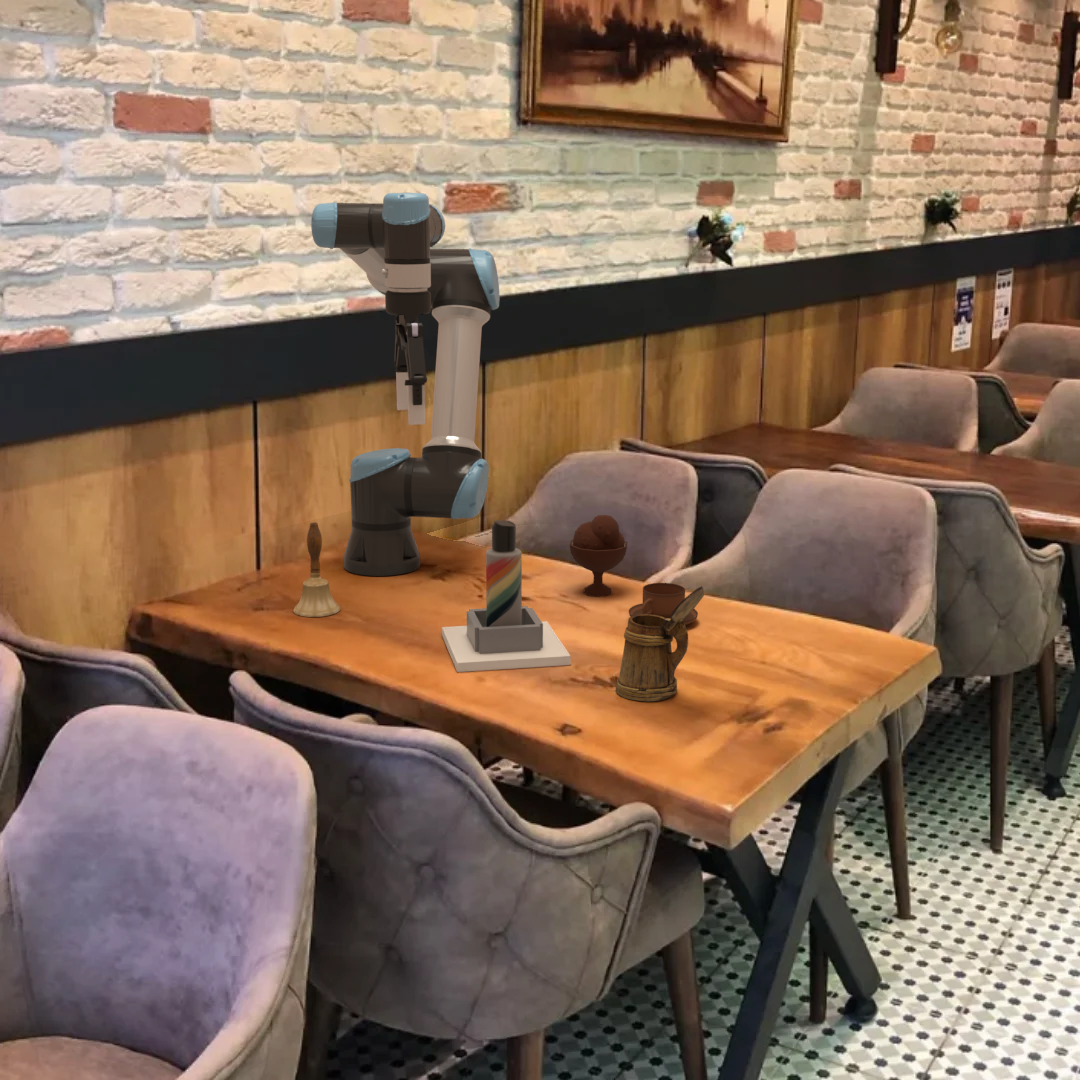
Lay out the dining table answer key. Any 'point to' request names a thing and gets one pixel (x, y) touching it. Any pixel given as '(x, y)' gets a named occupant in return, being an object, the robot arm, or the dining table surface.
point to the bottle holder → (504, 644)
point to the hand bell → (315, 583)
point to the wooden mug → (654, 653)
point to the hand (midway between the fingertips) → (410, 416)
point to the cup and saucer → (662, 601)
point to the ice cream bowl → (598, 550)
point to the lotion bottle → (503, 577)
